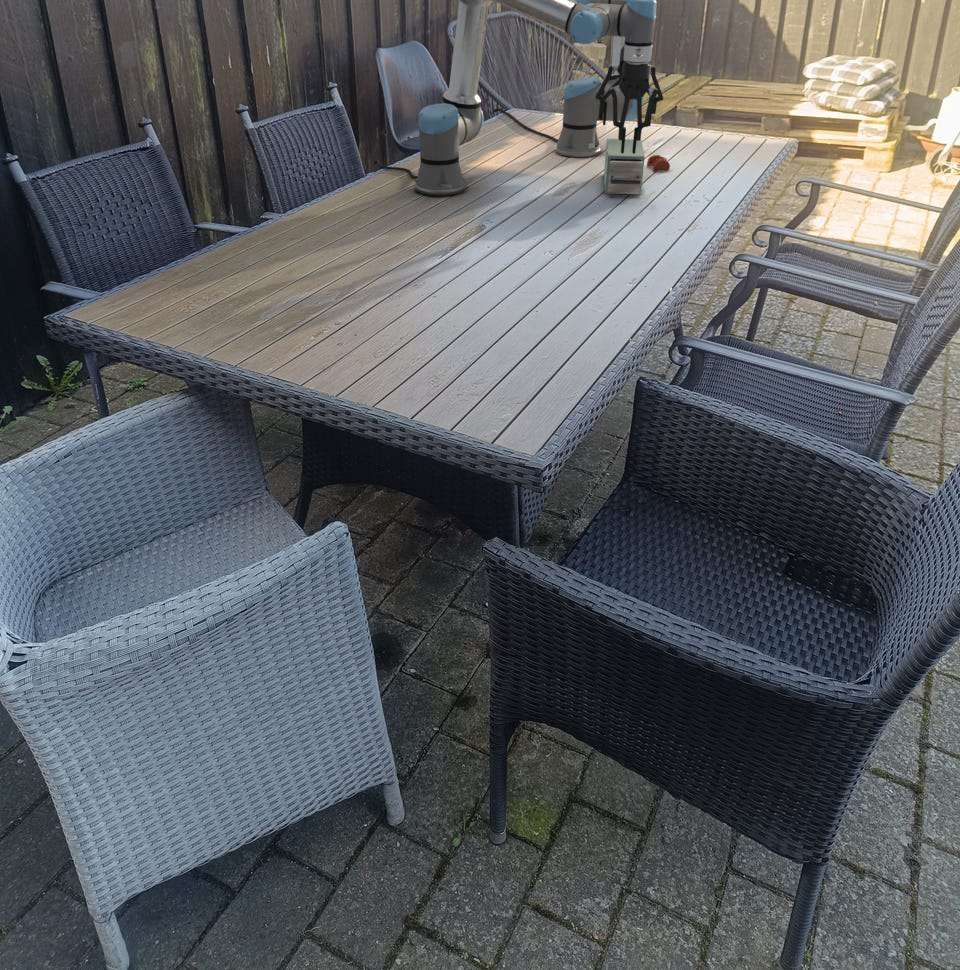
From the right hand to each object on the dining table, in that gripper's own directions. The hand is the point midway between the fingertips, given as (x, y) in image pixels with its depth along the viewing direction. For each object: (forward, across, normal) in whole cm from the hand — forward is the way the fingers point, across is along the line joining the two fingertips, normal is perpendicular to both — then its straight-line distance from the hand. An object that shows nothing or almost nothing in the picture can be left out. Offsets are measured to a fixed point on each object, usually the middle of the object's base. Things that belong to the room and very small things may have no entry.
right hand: (626, 124), depth 258 cm
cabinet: (+16, 0, -5) cm, 17 cm away
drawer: (+15, 0, -12) cm, 19 cm away
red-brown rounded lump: (+16, +12, +14) cm, 25 cm away
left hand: (+3, 0, -21) cm, 21 cm away
